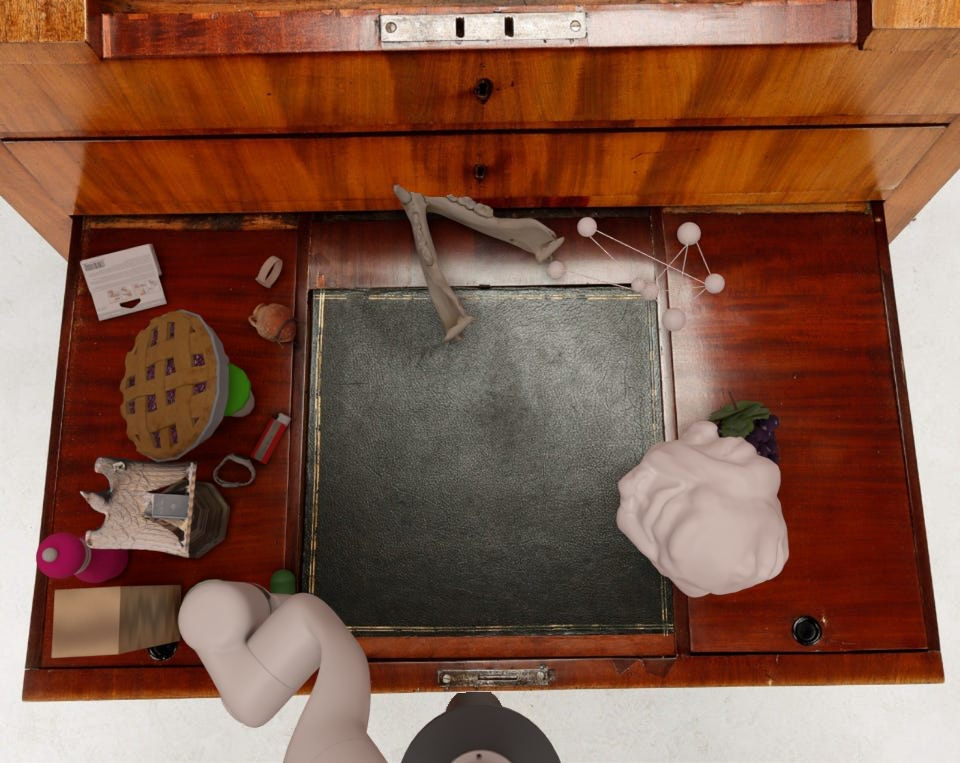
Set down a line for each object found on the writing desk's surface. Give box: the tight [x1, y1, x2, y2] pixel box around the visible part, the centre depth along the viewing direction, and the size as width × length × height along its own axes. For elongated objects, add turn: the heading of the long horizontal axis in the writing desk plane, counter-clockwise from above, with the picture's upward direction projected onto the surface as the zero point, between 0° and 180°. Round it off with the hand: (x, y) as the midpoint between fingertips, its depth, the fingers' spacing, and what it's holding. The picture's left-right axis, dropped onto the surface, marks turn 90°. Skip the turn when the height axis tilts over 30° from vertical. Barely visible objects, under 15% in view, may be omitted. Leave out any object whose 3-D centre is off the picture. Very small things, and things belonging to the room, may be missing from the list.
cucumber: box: [269, 569, 296, 595], centre depth 130 cm, size 11×4×4 cm, turn 3°
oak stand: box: [51, 584, 182, 659], centre depth 120 cm, size 8×8×24 cm
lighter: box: [249, 412, 292, 465], centre depth 137 cm, size 3×1×8 cm
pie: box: [119, 309, 229, 463], centre depth 128 cm, size 22×22×5 cm
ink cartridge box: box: [79, 243, 167, 322], centre depth 141 cm, size 2×11×10 cm
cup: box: [223, 363, 256, 418], centre depth 131 cm, size 8×8×15 cm
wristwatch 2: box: [213, 453, 256, 489], centre depth 135 cm, size 4×6×5 cm
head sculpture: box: [615, 420, 790, 598], centre depth 124 cm, size 23×23×25 cm
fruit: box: [706, 391, 781, 466], centre depth 134 cm, size 10×11×15 cm
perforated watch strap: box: [255, 255, 283, 289], centre depth 140 cm, size 3×5×5 cm, turn 150°
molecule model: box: [546, 216, 726, 332], centre depth 139 cm, size 14×25×18 cm
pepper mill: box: [35, 532, 129, 584], centre depth 123 cm, size 7×7×20 cm
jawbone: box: [393, 184, 565, 343], centre depth 137 cm, size 25×25×15 cm
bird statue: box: [79, 441, 231, 559], centre depth 117 cm, size 17×13×35 cm
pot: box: [248, 302, 307, 349], centre depth 138 cm, size 6×8×6 cm
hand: (275, 612), depth 120 cm, fingers open, 9 cm apart
